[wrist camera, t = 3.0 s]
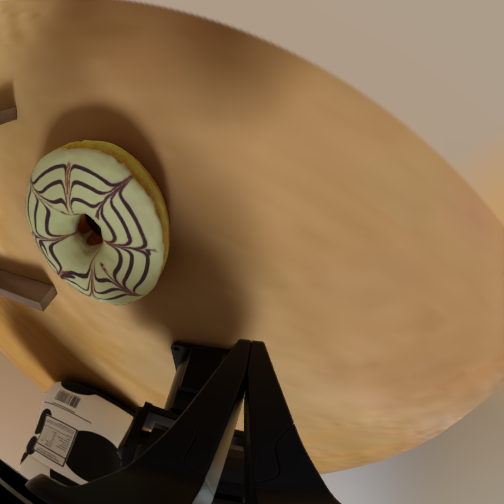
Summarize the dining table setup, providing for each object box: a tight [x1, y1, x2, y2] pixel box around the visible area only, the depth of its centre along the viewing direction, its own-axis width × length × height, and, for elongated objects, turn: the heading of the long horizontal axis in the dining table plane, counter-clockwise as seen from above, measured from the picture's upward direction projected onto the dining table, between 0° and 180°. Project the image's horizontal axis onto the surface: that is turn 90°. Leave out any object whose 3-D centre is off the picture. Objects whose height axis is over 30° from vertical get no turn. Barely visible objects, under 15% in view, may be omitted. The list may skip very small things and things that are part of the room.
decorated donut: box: [25, 140, 170, 305], centre depth 15 cm, size 10×11×4 cm
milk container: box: [19, 381, 135, 487], centre depth 27 cm, size 17×17×18 cm
